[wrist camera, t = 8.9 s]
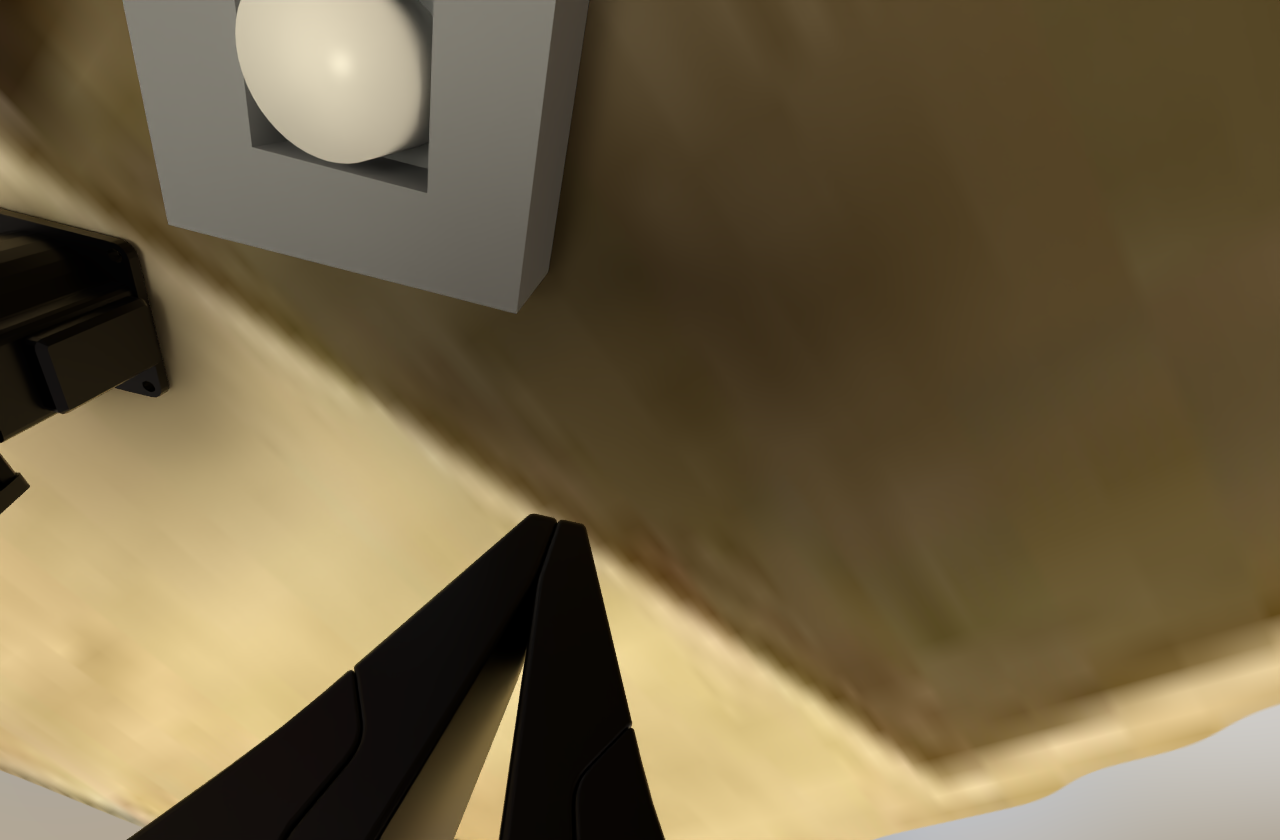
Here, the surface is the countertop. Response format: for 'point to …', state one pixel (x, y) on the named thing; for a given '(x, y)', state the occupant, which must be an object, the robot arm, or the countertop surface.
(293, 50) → the button pale
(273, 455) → the countertop surface
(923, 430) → the countertop surface
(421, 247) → the button panel
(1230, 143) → the countertop surface
